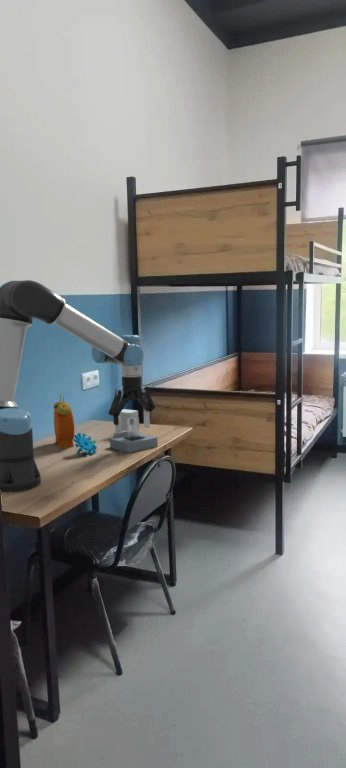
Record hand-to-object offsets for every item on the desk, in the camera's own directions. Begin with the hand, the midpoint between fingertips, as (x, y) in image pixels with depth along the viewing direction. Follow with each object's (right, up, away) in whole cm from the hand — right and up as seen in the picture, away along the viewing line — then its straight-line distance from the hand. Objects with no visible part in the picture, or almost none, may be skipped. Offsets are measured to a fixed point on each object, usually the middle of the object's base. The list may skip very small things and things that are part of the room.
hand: (132, 430), depth 227 cm
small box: (-4, -4, +20) cm, 20 cm away
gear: (-17, -8, -6) cm, 20 cm away
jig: (0, -6, +1) cm, 7 cm away
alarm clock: (-28, -6, +7) cm, 29 cm away
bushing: (0, -6, +1) cm, 7 cm away
